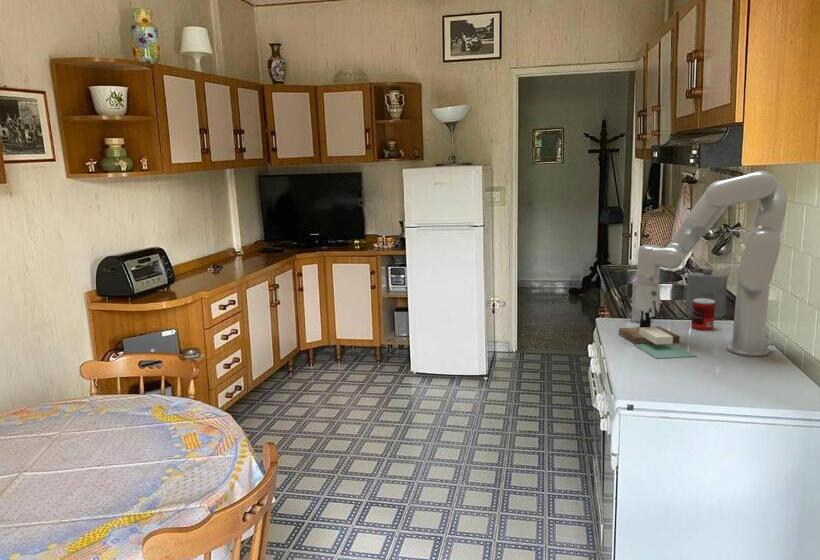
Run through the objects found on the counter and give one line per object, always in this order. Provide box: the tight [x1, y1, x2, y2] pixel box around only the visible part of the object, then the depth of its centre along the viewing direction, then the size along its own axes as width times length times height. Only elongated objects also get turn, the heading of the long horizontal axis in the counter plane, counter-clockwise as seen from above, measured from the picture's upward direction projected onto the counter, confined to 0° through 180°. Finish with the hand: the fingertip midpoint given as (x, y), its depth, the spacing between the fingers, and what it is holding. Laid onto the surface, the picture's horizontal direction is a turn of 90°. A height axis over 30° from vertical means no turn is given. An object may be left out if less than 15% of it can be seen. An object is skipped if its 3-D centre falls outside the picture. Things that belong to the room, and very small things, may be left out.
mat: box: [633, 343, 697, 360], centre depth 216 cm, size 14×16×1 cm
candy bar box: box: [630, 278, 640, 324], centre depth 257 cm, size 11×5×16 cm, turn 150°
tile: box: [639, 326, 674, 345], centre depth 221 cm, size 6×12×2 cm, turn 8°
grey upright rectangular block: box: [684, 267, 728, 319], centre depth 261 cm, size 15×6×20 cm, turn 70°
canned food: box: [691, 298, 715, 331], centre depth 243 cm, size 8×8×11 cm
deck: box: [618, 325, 681, 345], centre depth 230 cm, size 16×14×2 cm
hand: (644, 329), depth 229 cm, fingers closed
